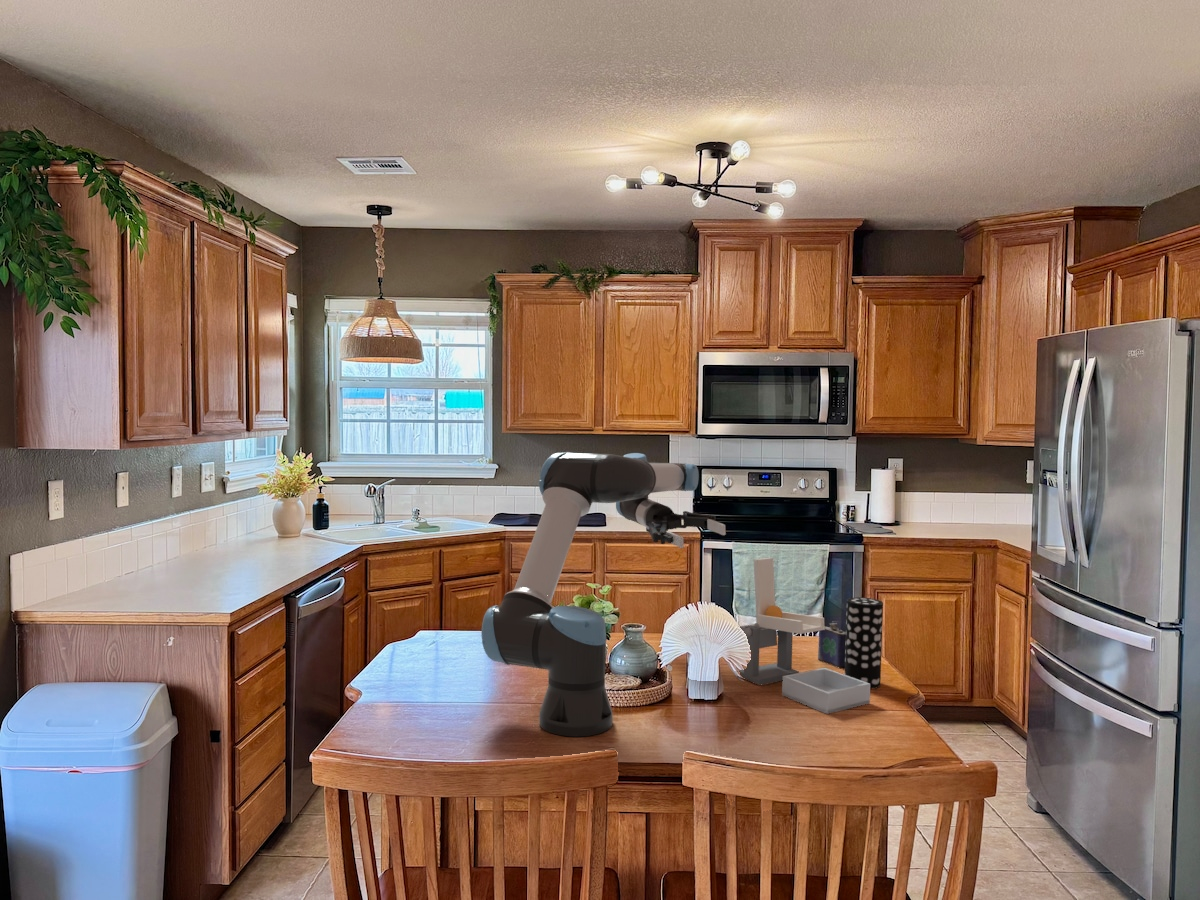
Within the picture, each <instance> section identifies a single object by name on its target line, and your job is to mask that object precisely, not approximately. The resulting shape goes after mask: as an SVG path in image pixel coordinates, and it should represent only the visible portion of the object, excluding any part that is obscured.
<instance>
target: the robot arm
mask: <svg viewBox="0 0 1200 900" xmlns="http://www.w3.org/2000/svg"><path fill="white" fill-rule="evenodd" d="M699 472H700V471H699V468H698V467H697V465H696V464H693V463H686V462H685V463H680V462H676V463H675V462H657V461H656V462H654V461H648V459H647V455H646V454H644V453H640V452H630V453H627V454H624V455H618V454H611V453H588V452H587V453H584V452H573V451H565V452H556V453H552V454H551V455H550V456H549V457H547V459H545V461H544V463H543V464H542V467H541V470H540V473H539V477H540V478H539V481H538V485H539V487H538V488H539V490H540V494H541V495H542V501H543V502H544V504H545V506H544V508H543V511H542V513H541V517H540V518H539V522H538V525H537V526H536V530H535V532H534V535H533V537H532V540H531V544H529V545H530V546H529V548H528V551H527V553H526V556H525V559H524V562H523V564H522V567H521V570H520V571H519V572H520V573H519V576H518V578H517V580H516V583H515V586H514V588H513V590H510V591H508V592H506V593H505V594H504V596H503V598H502V599H501V600H502V601H501V603H500V604H499V605H498V604H496V605H492V606H490V607H489V608H487V610H486V611H485V613H484V615H483V617H482V618H483V619H482V624H481V641H482V642H481V644H482V648H483V650H484V652H485V654H486V656H487V658H488V659H490V660H491V661H493V662H497V663H501V664H504V665H507V666H511V665H514V666H518V667H519V666H520V667H527V668H534V669H539V670H546V671H548V673H547V674H548V676H547V677H548V684H547V688H546V691H545V693H544V694H545V695H544V697H543V701H542V702H541V703H542V704H541V706H540V709H539V713H538V715H539V716H538V717H539V718H538V725H539V726H540V727H541V729H543V730H544V731H546V732H548V733H551V734H554V735H558V736H564V737H589V736H594V735H598V734H602V733H604V732H606V731H609V729H611V728H612V726H613V721H614V720H613V716H614V714H613V710H612V706H611V703H610V700H609V696H608V693H607V689H606V686H605V685H606V683H605V682H606V679H605V678H606V651H607V650H606V649H607V647H606V646H607V634H606V621H605V619H604V617H603V616H602V615H601V614H599V613H598V612H596V611H594V610H592V609H589V608H586V607H581V606H575V605H570V606H568V605H557V606H553V605H552V601H553V597H554V595H555V592H556V588H557V585H558V583H559V580H560V577H561V574H562V571H563V568H564V566H565V562H566V559H567V557H568V554H569V551H570V548H571V545H572V542H573V539H574V536H575V533H576V530H577V527H578V524H579V522H580V519H581V517H583V516H586V515H587V514H589V511H590V510H591V506H592V504H593V503H594V504H595V503H598V504H599V503H601V504H604V503H605V504H613V503H615V509H616V511H617V513H618V515H620V516H621V517H623V518H625V519H626V520H628V521H632V522H634V523H637V524H638V525H641V526H644V527H645V529H646V532H647V533H649V535H650V537H651V539H652V541H653V542H654V543H658V542H659V541H660V545H665V544H666V543H669V544H671V545H673V546H676V547H678V548H680V549H682V548H685V546H684V545H685V544H684V537H683V536H682V535H679V534H677V533H674V532H672V531H670V530H674V529H675V530H677V529H687V527H688V528H689V527H690V528H707V530H709V531H711V532H713V533H716V534H719V535H721V536H725V535H727V533H726V524H724V523H722V522H718V521H717V520H716V515H712V514H706V513H697V512H690V511H687V510H684V511H683V512H682V514H678V513H675V512H674V511H673V509H672V508H671V507H669V506H668V505H665V504H662V503H660V502H657V501H655V500H652V499H650V498H649V495H650V494H654V493H655V494H656V493H661V492H662V493H665V492H673V491H675V492H676V491H678V492H679V491H682V492H692V491H693V492H694V491H695V490H696V489H697V488H698V485H699V478H700V476H699V475H700V474H699ZM682 520H683V524H682ZM547 595H548V596H547Z"/></svg>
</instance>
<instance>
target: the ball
mask: <svg viewBox="0 0 1200 900" xmlns="http://www.w3.org/2000/svg"><path fill="white" fill-rule="evenodd" d="M782 612H783V610H782V609H781V608H780V606H777V605H775V606H770V607H768V608H767V610H766V616H773V617H779V618H782Z"/></svg>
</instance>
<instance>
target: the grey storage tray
mask: <svg viewBox="0 0 1200 900" xmlns="http://www.w3.org/2000/svg"><path fill="white" fill-rule="evenodd" d="M781 684H782V686H781V687H782V689H781V692H782V693H781V696H782V695H783V696H782V697H784V696H786V697H785V698H787V697H788V698H787V699H789V698H790V699H789V700H791V701H794V700H795V701H794V702H796V701H797V703H799V702H800V704H801V703H802V704H801V705H804V706H806V705H807V706H806V707H808V708H812V709H814V710H816V711H819V712H821V713H823V714H827V715H829V713H830V714H834V713H837V712H840V711H845V710H849V709H853V707H854V708H858V707H861V705H862V706H865V704H866V705H868V704H869V703H870V702H871V701H870V700H871V689H870V683H867V682H864V681H861V680H858V679H855V678H853V677H850V676H847V675H845V673H844V674H843V673H841V672H838V671H835V670H833V669H830V668H826V667H821V668H817V669H816V668H815V669H812V670H811V669H810V670H808V671H802V672H799V673H796V674H791V675H786V676H783V681H781ZM857 706H858V707H857Z"/></svg>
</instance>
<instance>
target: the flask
mask: <svg viewBox="0 0 1200 900" xmlns="http://www.w3.org/2000/svg"><path fill="white" fill-rule="evenodd" d="M829 625H830V627H829V626H825V630H820V631H818V647H817V648H818V652H817V661H819V660H820V661H819V662H821V661H822V663H825V664H827V663H829V664H828V665H830V664H832V665H834V666H833V667H835V666H836V668H838V667H839V668H838V669H841V668H844V669H845V645H846V631H843V630H842V629H840V630H839V627H838V626H836V625H838V622H832V623H829ZM832 665H831V666H832Z"/></svg>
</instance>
